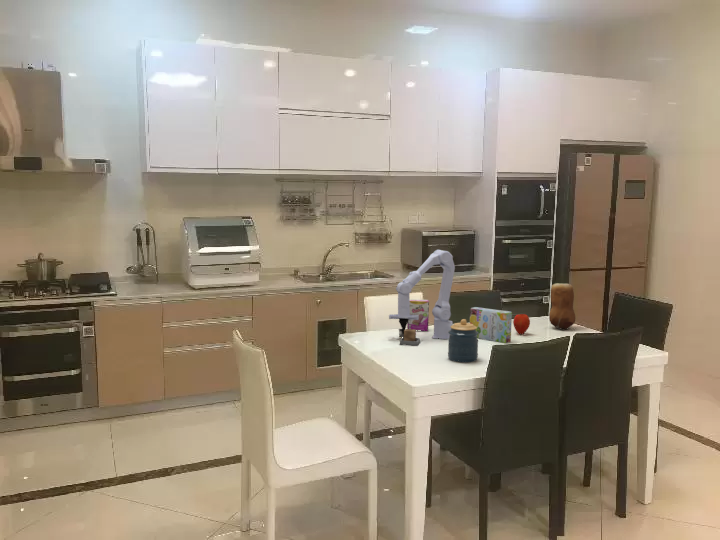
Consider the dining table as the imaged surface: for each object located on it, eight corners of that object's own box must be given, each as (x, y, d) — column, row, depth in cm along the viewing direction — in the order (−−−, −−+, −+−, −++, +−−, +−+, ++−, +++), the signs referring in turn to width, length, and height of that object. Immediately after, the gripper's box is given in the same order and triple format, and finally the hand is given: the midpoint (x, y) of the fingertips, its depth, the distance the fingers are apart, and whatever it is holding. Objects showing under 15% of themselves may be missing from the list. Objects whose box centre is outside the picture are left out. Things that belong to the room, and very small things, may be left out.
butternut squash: (560, 325, 341) (562, 280, 339) (580, 329, 330) (582, 283, 327) (542, 327, 334) (544, 282, 331) (562, 332, 323) (564, 285, 320)
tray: (420, 342, 298) (420, 338, 298) (417, 345, 291) (417, 341, 290) (402, 341, 300) (403, 337, 300) (399, 344, 293) (399, 340, 293)
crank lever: (413, 335, 308) (413, 328, 308) (415, 337, 305) (415, 329, 305) (397, 336, 307) (397, 328, 307) (399, 337, 304) (399, 330, 304)
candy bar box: (407, 331, 323) (407, 300, 322) (407, 329, 328) (407, 299, 327) (428, 331, 322) (429, 301, 321) (428, 329, 327) (429, 299, 326)
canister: (442, 356, 270) (443, 317, 268) (467, 354, 276) (468, 315, 274) (458, 364, 259) (459, 323, 257) (483, 361, 264) (485, 320, 262)
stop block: (415, 341, 297) (415, 329, 296) (414, 343, 293) (414, 331, 292) (405, 341, 298) (405, 328, 298) (403, 343, 294) (403, 330, 293)
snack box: (511, 341, 301) (512, 311, 299) (505, 343, 297) (506, 313, 295) (474, 335, 315) (475, 306, 313) (468, 336, 311) (469, 307, 309)
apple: (525, 337, 311) (526, 316, 310) (509, 334, 317) (510, 314, 315) (532, 334, 318) (532, 313, 317) (516, 331, 323) (517, 311, 322)
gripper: (419, 305, 304) (419, 332, 305) (390, 304, 307) (390, 331, 309) (417, 308, 297) (417, 335, 299) (388, 307, 300) (388, 334, 302)
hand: (403, 333), depth 303 cm, fingers closed, pressing on crank lever
